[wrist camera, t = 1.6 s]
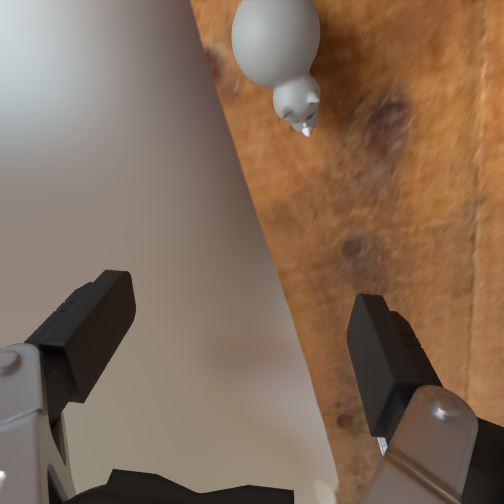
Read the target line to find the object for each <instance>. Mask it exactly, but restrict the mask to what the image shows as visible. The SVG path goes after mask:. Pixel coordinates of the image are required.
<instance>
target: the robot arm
mask: <svg viewBox="0 0 504 504" xmlns="http://www.w3.org/2000/svg"><path fill="white" fill-rule="evenodd" d="M135 313H136V304H135V298H134V291H133V285H132V279H131V275H130V273H129V272H128V271H116V270H105V271H104V272H103V273H102V274H101V275H100V276H99V277H98V278H97V279H96V280H95V281H94V282H93V283H92V282H89V283H87V284H85V285H83V286H82V287H80V288H78V289H76V290H75V291H74V292H73V293H72V294H71V295H70V296H69V297H68V298H67V299H66V300H65V303H62V304H61V305H60V306H59V307H58V308H57V311H54V312H53V313H52V314H51V315H50V317H48V318H47V319H46V321H45V322H44V323H43V324H42V325H41V326H40V327H39V328H38V329H37V330H36V331H35V332H34V333H33V334H32V335H31V336H30V337H29V338H28V339H27V340H26V341H25V342H24V343H19V344H12V345H9V346H5V347H3V348H0V504H294V491H293V490H287V489H278V488H270V487H261V486H252V485H246V486H240V487H235V488H230V489H224V490H219V491H213V492H208V493H197V492H194V491H192V490H190V489H188V488H186V487H183V486H181V485H179V484H177V483H175V482H173V481H170V480H168V479H166V478H164V477H162V476H160V475H157V474H152V473H143V472H135V471H126V470H118V469H113V470H112V473H111V475H110V477H109V480H108V482H107V484H105V485H101V486H98V487H94V488H91V489H89V490H86V491H84V492H82V493H80V494H77V495H76V491H75V488H74V484H73V481H72V475H71V469H70V462H69V453H68V446H67V438H66V429H65V421H64V416H63V412H62V411H63V409H64V408H65V406H66V405H67V403H68V402H77V403H84V402H85V400H86V399H87V397H88V395H89V394H90V392H91V390H92V388H93V387H94V385H95V384H96V382H97V380H98V379H99V377H100V376H101V374H102V372H103V371H104V369H105V367H106V365H107V364H108V362H109V361H110V359H111V357H112V356H113V354H114V353H115V351H116V349H117V348H118V346H119V344H120V343H121V341H122V339H123V338H124V336H125V334H126V333H127V331H128V330H129V328H130V326H131V325H132V323H133V321H134V318H135ZM347 344H348V348H349V352H350V356H351V360H352V364H353V368H354V372H355V375H356V379H357V383H358V387H359V391H360V395H361V399H362V403H363V407H364V410H365V414H366V418H367V422H368V426H369V430H370V434H371V436H373V437H382V438H385V440H386V443H387V449H386V451H385V453H384V455H383V457H382V459H381V461H380V463H379V465H378V467H377V469H376V471H375V473H374V475H373V477H372V479H371V481H370V483H369V485H368V487H367V489H366V491H365V493H364V495H363V497H362V499H361V501H360V503H359V504H504V427H502V426H499V425H496V424H494V423H491V422H488V421H486V420H483V419H481V418H478V417H476V415H475V414H474V412H473V410H472V409H471V408H470V406H469V405H468V404H467V403H466V402H465V401H464V400H463V399H462V398H460V397H459V396H458V395H456V394H455V393H453V392H451V391H449V390H447V389H445V388H444V387H443V386H442V384H441V382H440V380H439V378H438V376H437V374H436V372H435V371H434V369H433V367H432V365H431V363H430V361H429V359H428V357H427V356H426V354H425V352H424V350H423V348H421V344H420V343H419V341H418V339H417V338H416V337H415V333H414V331H413V329H412V328H411V326H410V324H409V322H408V321H407V320H405V319H404V318H403V317H402V316H401V315H400V314H399V313H398V312H396V311H389V309H388V306H387V304H386V302H385V300H384V298H383V297H382V296H381V295H372V294H361V293H359V294H357V296H356V299H355V303H354V306H353V310H352V313H351V317H350V321H349V324H348V329H347Z"/></svg>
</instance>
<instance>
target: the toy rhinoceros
mask: <svg viewBox="0 0 504 504" xmlns="http://www.w3.org/2000/svg"><path fill="white" fill-rule="evenodd" d="M319 42H320V22H319V17H318V14H317V11H316V8H315V6H314V4H313V2H312V1H311V0H243V1H242V3H241V4H240V6H239V8H238V10H237V12H236V15H235V18H234V21H233V27H232V47H233V52H234V56H235V59H236V61H237V63H238V65H239V67H240V69H241V70H242V72H243V73H244V74H245V75H246V76H247V77H248V78H249V79H250V80H251V81H253V82H254V83H256V84H258V85H260V86H263V87H267V88H272V89H273V90H274V94H273V105H274V108H275V111H276V113H277V114H278V116H279V117H280V118H281V119H284V120H287V121H290V123H291V125H292V127H293V128H294V129H295V130H297V131H298V132H299V133H302V132H303V133H304V135H306V136H307V137H310V136H311V134H312V129H314V128H315V127H316V125H317V122H318V117H319V115H318V105H319V102H320V87H319V85H318V83H317V81H316V80H315V79H314V78H313V77H312V76H311V75H310V67H311V65H312V63H313V61H314V59H315V57H316V54H317V51H318V47H319Z"/></svg>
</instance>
